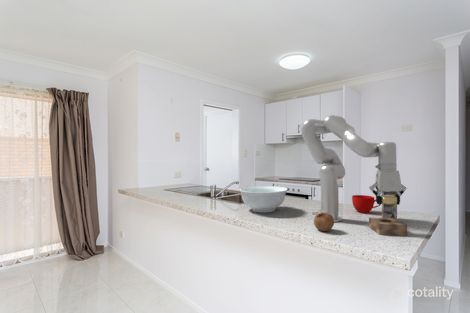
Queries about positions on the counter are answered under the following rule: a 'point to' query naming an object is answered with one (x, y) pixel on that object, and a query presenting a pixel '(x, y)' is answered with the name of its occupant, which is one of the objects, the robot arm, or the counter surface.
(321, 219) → the onion
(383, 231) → the block
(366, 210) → the ceramic cup
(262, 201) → the bowl
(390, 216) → the coffee box
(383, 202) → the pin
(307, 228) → the counter surface
